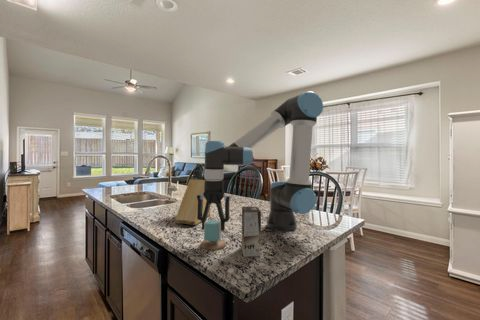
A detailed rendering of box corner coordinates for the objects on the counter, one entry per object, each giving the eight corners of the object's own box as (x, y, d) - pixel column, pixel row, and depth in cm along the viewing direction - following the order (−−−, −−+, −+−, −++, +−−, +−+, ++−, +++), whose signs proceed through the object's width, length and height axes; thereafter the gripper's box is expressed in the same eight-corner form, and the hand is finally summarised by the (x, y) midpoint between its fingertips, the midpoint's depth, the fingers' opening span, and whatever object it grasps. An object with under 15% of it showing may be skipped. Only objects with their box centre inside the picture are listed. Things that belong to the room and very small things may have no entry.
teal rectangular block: (221, 236, 94) (221, 220, 94) (217, 241, 89) (217, 224, 89) (208, 235, 95) (209, 220, 95) (204, 240, 90) (205, 223, 90)
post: (228, 241, 96) (228, 223, 96) (222, 251, 86) (222, 231, 86) (205, 239, 98) (205, 222, 97) (197, 249, 88) (197, 229, 88)
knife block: (215, 211, 149) (215, 163, 149) (195, 227, 115) (195, 165, 114) (198, 210, 151) (199, 163, 151) (174, 225, 117) (174, 165, 116)
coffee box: (261, 256, 82) (261, 211, 82) (243, 257, 81) (243, 211, 81) (257, 246, 91) (257, 206, 91) (240, 246, 90) (241, 206, 90)
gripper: (238, 179, 94) (237, 236, 94) (195, 178, 97) (194, 233, 97) (234, 181, 86) (233, 243, 86) (188, 180, 89) (187, 239, 90)
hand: (213, 237), depth 92 cm, fingers closed on teal rectangular block, 5 cm apart
